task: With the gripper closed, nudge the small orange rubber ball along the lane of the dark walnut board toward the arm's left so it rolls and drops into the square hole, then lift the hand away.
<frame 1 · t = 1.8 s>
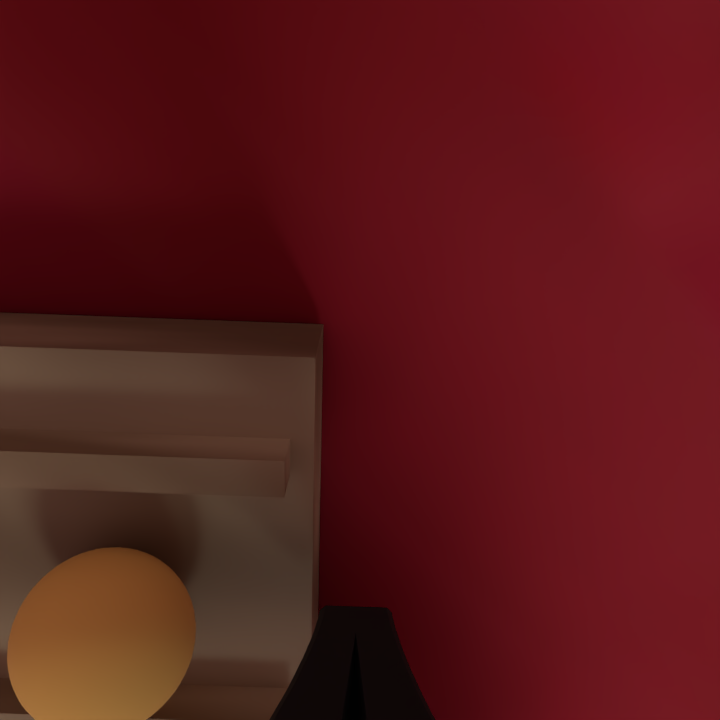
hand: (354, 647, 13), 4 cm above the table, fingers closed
ball: (106, 637, 13), point 4 cm above the table, touching board
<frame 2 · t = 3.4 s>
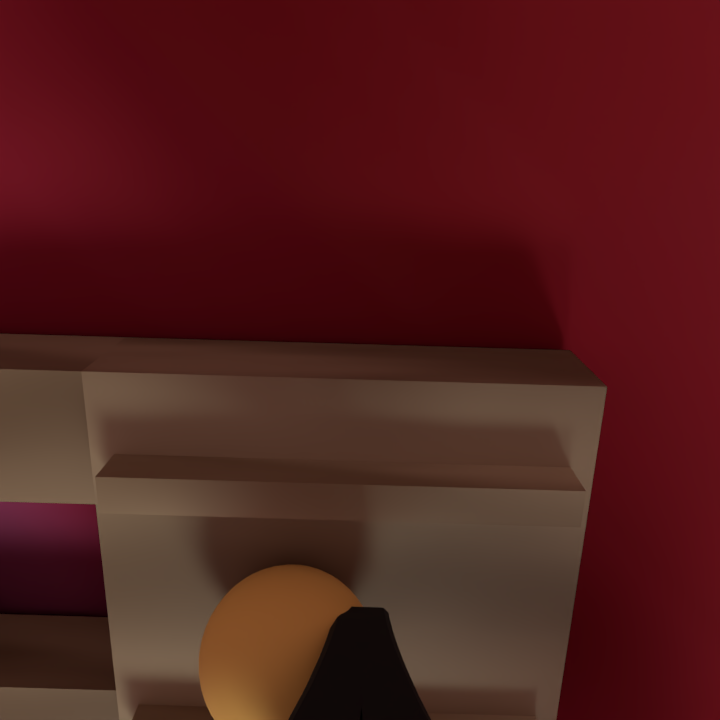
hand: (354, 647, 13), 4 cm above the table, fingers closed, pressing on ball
board: (199, 540, 17), on the table
ball: (288, 655, 13), point 4 cm above the table, tilted 74°, touching board, gripper
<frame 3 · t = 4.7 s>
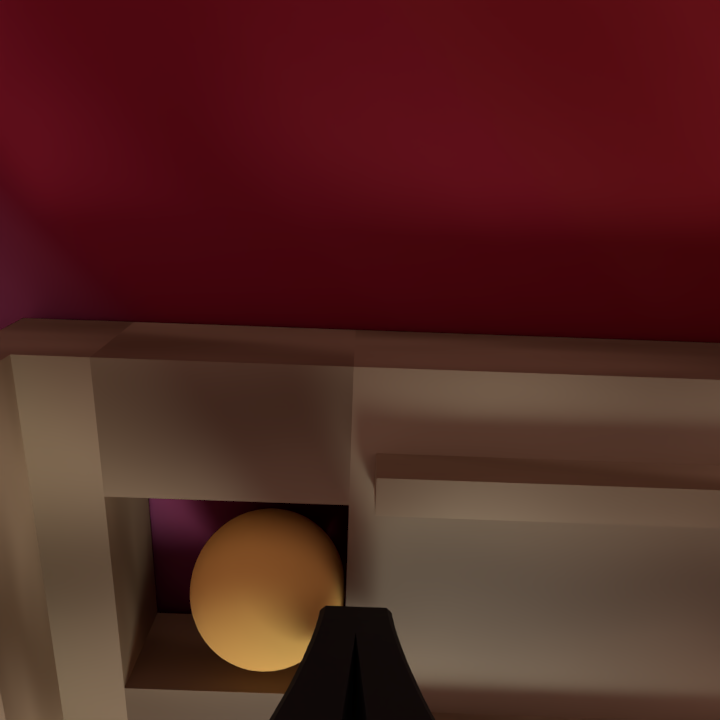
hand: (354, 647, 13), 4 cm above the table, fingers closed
board: (407, 540, 16), on the table
ball: (268, 586, 15), point 2 cm above the table, tilted 121°
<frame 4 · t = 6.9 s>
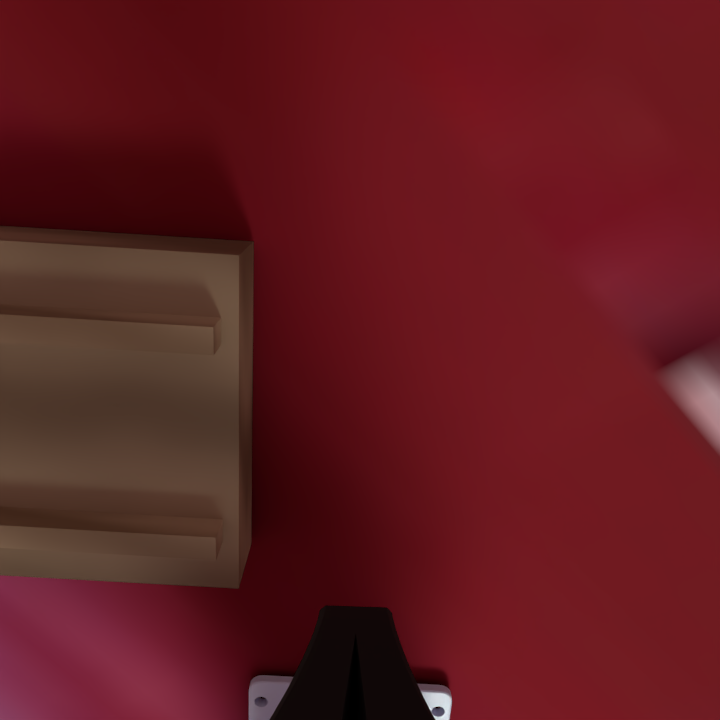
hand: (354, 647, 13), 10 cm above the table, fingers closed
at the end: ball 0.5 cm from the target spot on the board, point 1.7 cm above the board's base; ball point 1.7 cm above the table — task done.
